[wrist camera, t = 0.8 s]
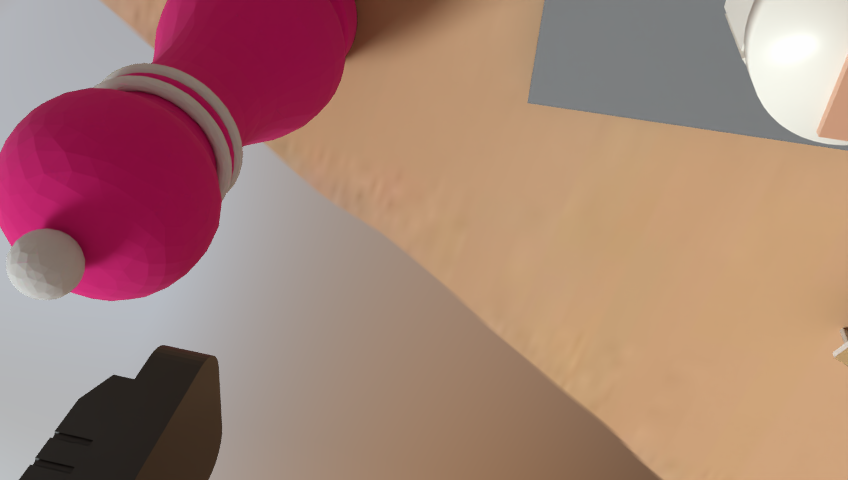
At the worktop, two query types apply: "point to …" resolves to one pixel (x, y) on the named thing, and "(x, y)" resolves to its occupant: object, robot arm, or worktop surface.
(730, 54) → the stand
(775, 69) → the cap
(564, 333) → the worktop surface
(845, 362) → the architectural model
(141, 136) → the pepper mill
